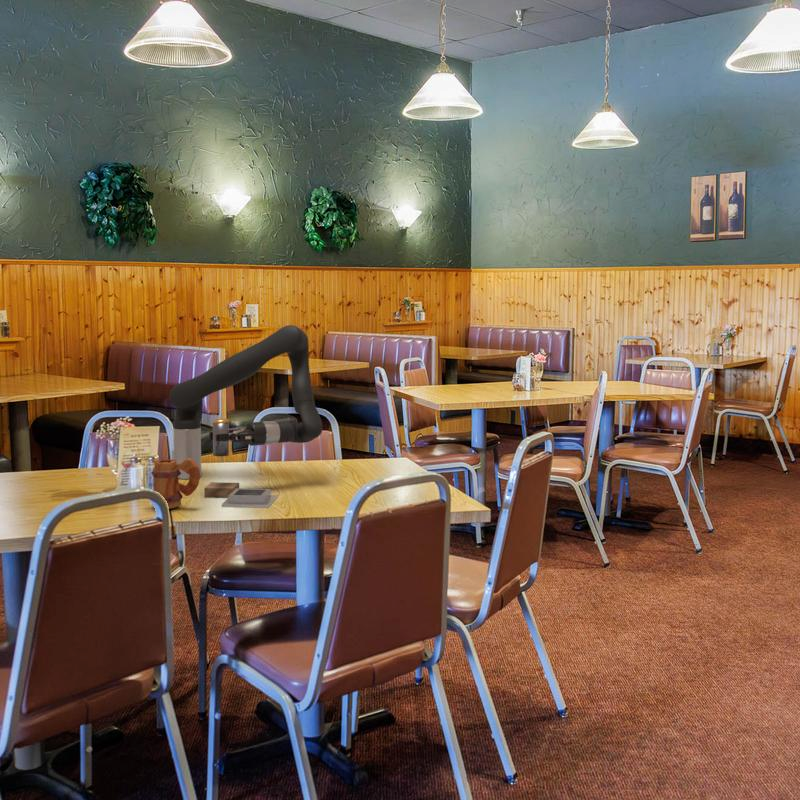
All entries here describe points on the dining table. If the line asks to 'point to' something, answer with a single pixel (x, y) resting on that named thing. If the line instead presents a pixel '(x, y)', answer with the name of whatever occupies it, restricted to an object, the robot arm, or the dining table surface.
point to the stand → (220, 489)
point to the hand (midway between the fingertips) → (213, 436)
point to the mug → (175, 479)
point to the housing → (250, 498)
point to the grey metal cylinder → (222, 446)
